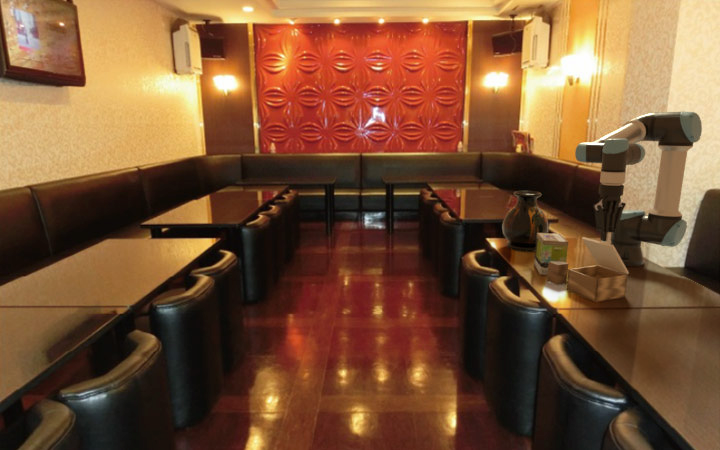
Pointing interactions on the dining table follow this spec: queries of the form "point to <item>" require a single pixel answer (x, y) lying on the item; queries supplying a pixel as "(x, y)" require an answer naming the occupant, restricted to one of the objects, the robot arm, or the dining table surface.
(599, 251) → the lid
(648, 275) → the dining table surface
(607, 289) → the crate
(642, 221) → the robot arm
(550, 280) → the walnut block
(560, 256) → the tea box
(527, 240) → the dark glossy vase
